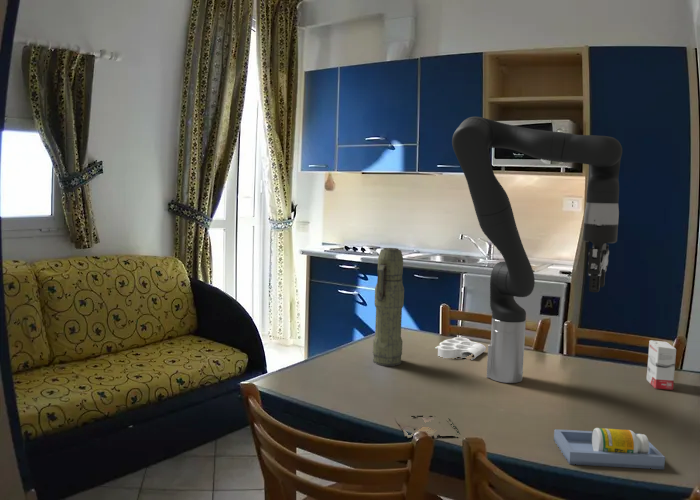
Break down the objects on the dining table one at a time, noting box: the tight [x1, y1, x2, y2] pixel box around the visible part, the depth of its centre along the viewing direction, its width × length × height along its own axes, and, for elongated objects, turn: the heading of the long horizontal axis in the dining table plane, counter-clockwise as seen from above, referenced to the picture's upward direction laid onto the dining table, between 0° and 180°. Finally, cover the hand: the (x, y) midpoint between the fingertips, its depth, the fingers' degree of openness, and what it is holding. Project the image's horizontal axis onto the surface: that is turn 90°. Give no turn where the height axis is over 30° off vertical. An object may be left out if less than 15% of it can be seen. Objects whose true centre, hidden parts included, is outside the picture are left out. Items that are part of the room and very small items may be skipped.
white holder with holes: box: [434, 336, 487, 361], centre depth 193 cm, size 3×18×15 cm
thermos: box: [372, 247, 405, 367], centre depth 179 cm, size 9×12×35 cm
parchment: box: [400, 415, 460, 439], centre depth 132 cm, size 12×13×1 cm
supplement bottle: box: [592, 427, 650, 454], centre depth 118 cm, size 5×5×10 cm
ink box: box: [646, 339, 677, 391], centre depth 165 cm, size 9×5×12 cm, turn 168°
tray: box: [553, 429, 666, 470], centre depth 120 cm, size 18×11×2 cm, turn 86°
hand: (596, 289), depth 142 cm, fingers open, 8 cm apart
